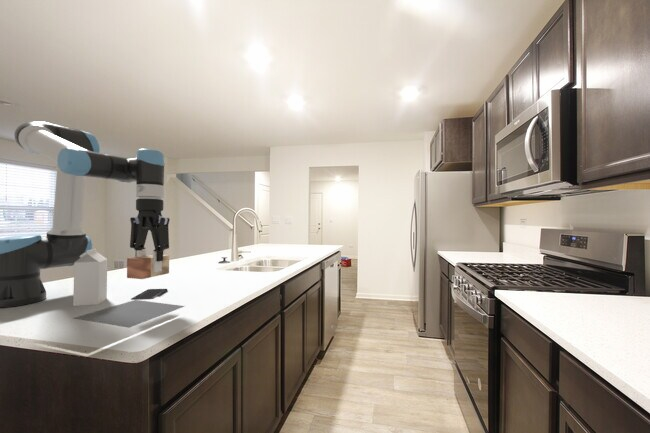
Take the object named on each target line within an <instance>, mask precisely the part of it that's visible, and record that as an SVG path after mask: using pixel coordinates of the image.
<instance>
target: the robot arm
mask: <svg viewBox="0 0 650 433" xmlns="http://www.w3.org/2000/svg"><path fill="white" fill-rule="evenodd" d="M13 136H14V140H15V142H16V144H18V145H19V147H20V148H21V149H23V150H26V151H27V152H29V153H31V154H35V155H42V156H43V157H45V158H47V159H49V160H51V161H52V162H53V163H54V165H56V175H55V191H54V203H53V204H54V205H53V214H52V216H53V218H52V228H51V229H49V230H47V231H46V237H42V236H41V234H36V233H35V234H34V233H33V234H21V235H13V236H6V237H1V238H0V309H1V308H11V307H19V306H25V305H30V304H34V303H38V302H41V301H43V300H45V299H47V290H46V288H45V285H44V284H43V281H42V280H41V270H43V269H44V270H46V269H51V268H52V269H53V268H61V267H62V268H63V267H72V266H73V267H74V263H75V262H76V261H77V260H79V259H80V255H82V254H83V253H87V250H91V249H93V243H92V239H91V238H90V237H89V236H88V235H87V232H86V231H85V230H83V217H84V216H83V215H84V214H83V213H84V201H85V199H84V198H85V188H86V187H85V186H86V177H88V178H97V179H98V178H100V179H105V180H114V181H117V182H121V183H133V182H135V183H136V185H135V187H136V188H135V189H136V190H135V192H136V194H135V195H136V198H137V199H136V200H135V210H136V211H138V214H137V216H135V217H133V216H132V217H130V219H129V221H130V224H131V225H130V242H129V248H130V249H134V251H135V256H134V257H140V256H147V254H146V252H147V250H146V247H145V244H146V240H147V237H148V233H149V231H150V233H151V237H152V241H153V247H154V249H153V251H152V255H153V272H159V271H162V261H163V255H164V251H165V250H168V249H170V240H169V239H170V238H169V224H170V218H169V217H163V214H162V212H163V211H164V200H163V198H165V196H164V190H165V188H164V184H165V182H164V181H165V180H164V179H165V178H164V177H165V165H166V164H165V158H164V156H165V155H164V153H163V152H162V151H160V150H156V149H151V148H139V149H138V150H137V151H136V155H135V157H133V158H128V157H122V156H116V155H111V154H107V153H106V154H105V153H101V151H100V150H101V149H100V143H99V140H98V139H97V138H96V136H95V135H94V134H92V133H91V132H87V131H84V130H81V129H77V128H74V127H73V128H72V127H67V126H64V125H59V124H55V123H50V122H46V121H36V120H35V121H27V122H24V123H21V124H20V125H18V126H17V127H16V129H15V130H14V134H13Z"/></svg>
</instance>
